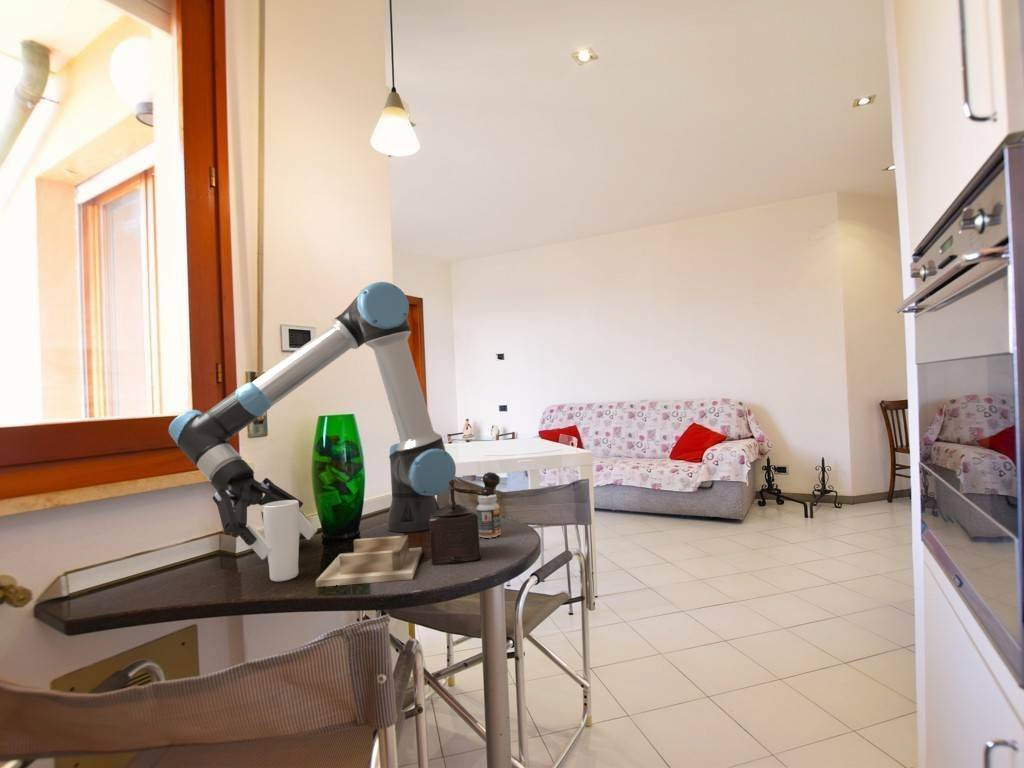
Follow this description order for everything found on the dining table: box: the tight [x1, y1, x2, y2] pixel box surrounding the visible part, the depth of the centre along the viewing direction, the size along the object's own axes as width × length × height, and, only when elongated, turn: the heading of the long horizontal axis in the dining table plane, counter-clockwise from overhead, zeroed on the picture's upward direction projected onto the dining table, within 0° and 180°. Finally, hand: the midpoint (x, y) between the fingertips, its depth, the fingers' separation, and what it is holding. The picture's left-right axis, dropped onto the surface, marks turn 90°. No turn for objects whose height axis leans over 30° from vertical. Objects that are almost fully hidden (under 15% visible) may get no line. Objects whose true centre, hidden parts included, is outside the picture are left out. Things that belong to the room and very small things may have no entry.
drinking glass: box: [262, 500, 301, 582], centre depth 106 cm, size 7×7×15 cm
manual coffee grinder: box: [429, 471, 501, 566], centre depth 115 cm, size 16×11×18 cm
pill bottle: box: [475, 494, 502, 538], centre depth 130 cm, size 6×6×10 cm
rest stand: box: [315, 534, 423, 588], centre depth 109 cm, size 18×18×5 cm
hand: (291, 544), depth 106 cm, fingers open, 13 cm apart
